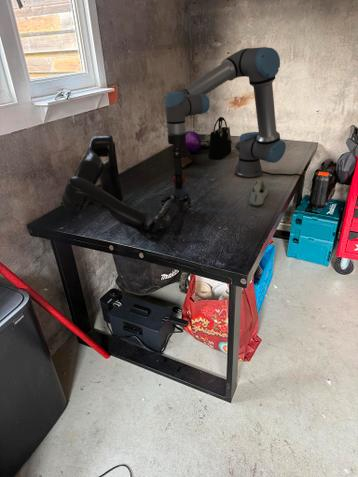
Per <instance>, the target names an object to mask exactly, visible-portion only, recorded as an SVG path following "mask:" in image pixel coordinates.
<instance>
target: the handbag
mask: <svg viewBox="0 0 358 477" xmlns="http://www.w3.org/2000/svg"><path fill="white" fill-rule="evenodd" d="M223 122H224V125H225V126H223ZM217 125H218V128H217V129H216V127H217ZM209 136H210V143H209V147H208V156H207V157H208V159H213V160H221V159H222V158H224V157H226V156H227V155H229V154H231V153H232V143H231V141H232V138H231V137H232V135H231V127H230V126H228V124H227V120H226V119H225V117H224V116H219V117H218V118H217V119H216V121H215V123H214V126H213V129H212V130H211V131H210V134H209Z"/></svg>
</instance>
